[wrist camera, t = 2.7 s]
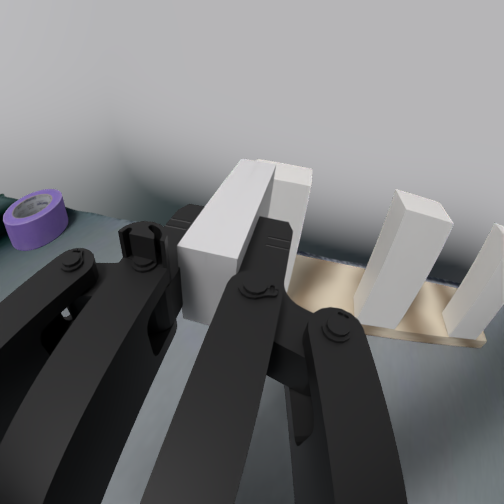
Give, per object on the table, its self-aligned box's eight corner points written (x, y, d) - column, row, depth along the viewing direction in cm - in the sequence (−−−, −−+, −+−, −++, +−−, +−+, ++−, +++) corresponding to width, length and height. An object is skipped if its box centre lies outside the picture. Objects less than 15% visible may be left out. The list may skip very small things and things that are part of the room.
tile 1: (467, 315, 31) (519, 231, 22) (475, 339, 27) (535, 253, 19) (441, 311, 31) (493, 221, 23) (448, 336, 28) (510, 243, 19)
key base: (463, 297, 36) (467, 290, 35) (480, 348, 28) (486, 341, 27) (236, 251, 40) (236, 242, 39) (213, 304, 32) (213, 294, 31)
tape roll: (2, 239, 36) (-7, 215, 33) (46, 207, 45) (40, 184, 42) (31, 259, 34) (20, 232, 31) (81, 220, 43) (75, 194, 40)
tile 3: (287, 282, 34) (312, 168, 25) (282, 309, 30) (311, 186, 22) (245, 273, 34) (257, 158, 26) (236, 299, 31) (247, 174, 22)
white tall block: (390, 302, 32) (438, 201, 24) (394, 329, 29) (453, 223, 20) (353, 295, 33) (395, 188, 24) (354, 322, 29) (406, 209, 21)
